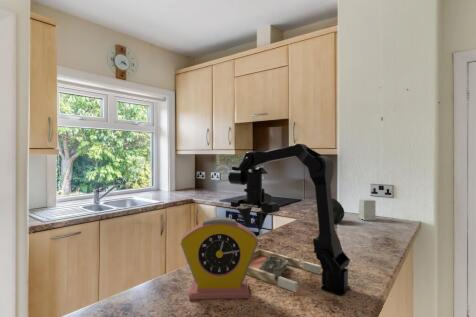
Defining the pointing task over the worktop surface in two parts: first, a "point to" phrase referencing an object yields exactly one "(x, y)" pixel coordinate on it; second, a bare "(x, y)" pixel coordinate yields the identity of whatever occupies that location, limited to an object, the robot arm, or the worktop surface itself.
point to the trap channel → (259, 258)
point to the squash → (337, 211)
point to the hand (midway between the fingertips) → (254, 228)
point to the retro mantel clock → (219, 258)
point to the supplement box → (367, 209)
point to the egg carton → (274, 265)
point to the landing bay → (292, 284)
